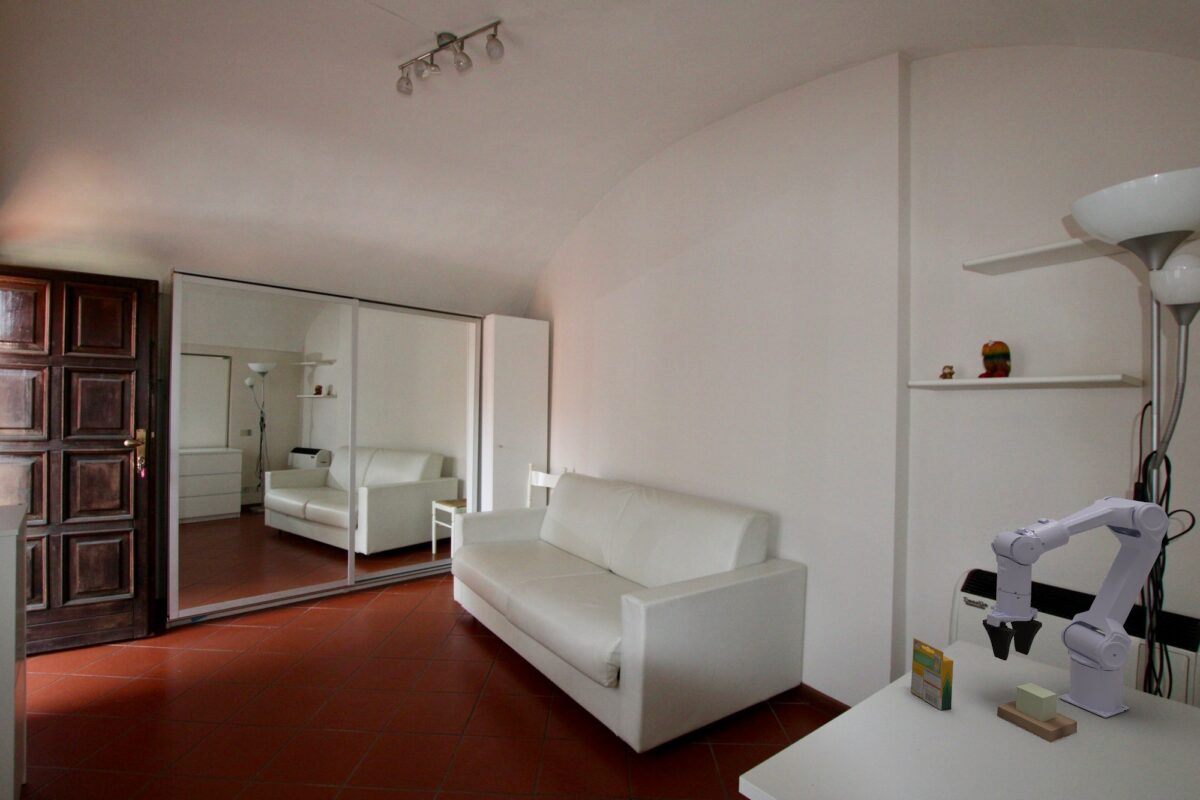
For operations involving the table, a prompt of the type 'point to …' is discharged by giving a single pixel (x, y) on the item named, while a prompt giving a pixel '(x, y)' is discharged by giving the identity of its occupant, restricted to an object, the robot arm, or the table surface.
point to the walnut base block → (1038, 723)
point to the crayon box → (931, 675)
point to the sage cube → (1036, 702)
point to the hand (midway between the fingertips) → (1011, 655)
